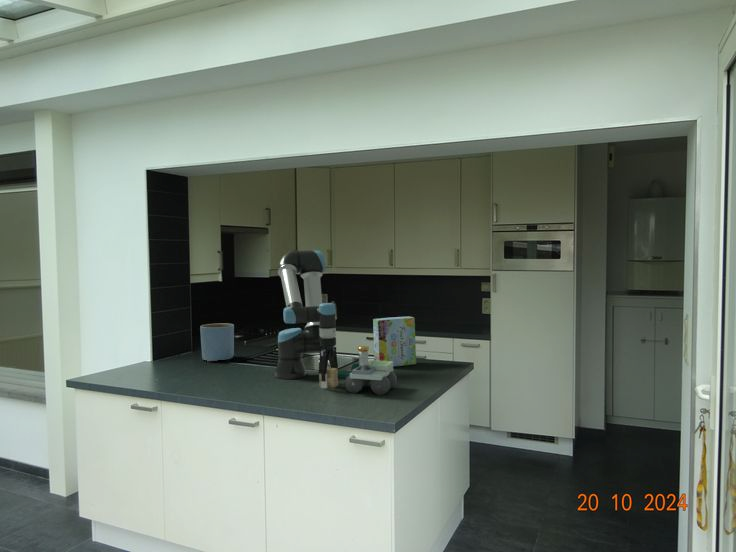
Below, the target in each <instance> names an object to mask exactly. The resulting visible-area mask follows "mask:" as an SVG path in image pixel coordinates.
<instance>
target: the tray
mask: <svg viewBox="0 0 736 552" xmlns="http://www.w3.org/2000/svg"><path fill="white" fill-rule="evenodd" d="M368 367H374V368H376V371H385V372H387V371H388V370H390V369H391V368H392V367H393V361H375V360H368ZM393 368H394V367H393Z"/></svg>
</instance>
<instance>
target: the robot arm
mask: <svg viewBox="0 0 736 552" xmlns="http://www.w3.org/2000/svg"><path fill="white" fill-rule="evenodd" d="M325 260H326V259H325V257H324V254H323V252H322V251H321V250H313V249H311V250H309V249H308V250H290V251H287V252H286V253H284V255H282V256H281V258H280V260H279V261H278V263H277V274H278V277H280V279H281V280H280V281H281V286H282V289H283V290H282V291H283V296H284V301H285V306H286V307H284V308H283V311H282V312H283V322H284V323H285V324H305V323H306V325H305V326H304V330H302V328H300V327H296V328H295V327H294V328H293V327H292V328H286V329H284V330H281V331H279V332H278V335H277V345H278V346H277V347H278V348H277V349H278V362H277V366H276V369H275V373H274V375H275V377H276V378H278V379H281V380H283V379H284V380H289V379H290V380H291V379H301V378H304V377H306V376H307V371H306V367H305V364H304V362H303V361H304V360H303V355H309V354H310V355H311V354H319V359H318V362H319V363H318V375H319V374H321V387H320V388H321V389H325V390H326V389H328V387H327V374H326V371H327V368H328V364H329V368H339V367H338V366H339V363H338V355H337V346H336V345H337V338H336V336H337V330H336V329H337V328H336V327H337V326H336V325H337V324H336V323H337V322H336V320H337V319H336V318H337V317H336V314H337V310H336V305H335V303H333V302H332V303H331V302H323V296H322V295H323V294H322V284H321V278H322V276H323V275H324V274H323V273H324V272H325V271H326V261H325ZM297 274H300V277H301V278H302V279H303V287H304V289H303V290H304V300H305V306H303V302H302V297H301V293H300V289H299V283H298V279H297Z"/></svg>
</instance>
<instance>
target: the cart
mask: <svg viewBox="0 0 736 552" xmlns="http://www.w3.org/2000/svg"><path fill="white" fill-rule="evenodd" d="M368 370H369V371H363V370H359V367H357V368H355V369H353V370H352V373H350V375H349V376H348V377H347V378H345V380H344V385H345V389H346V390H347V391H348V392H349V393H351V394H356V393H359V391H362V390H363V388H365V387H367V386H368V385H370V389H371V391H372V392H373V393H374V394H376V395H378V396H382V395H385V394H387V392H388V391H390V390H391V389H392V388H394V387H395V386H396V385H397V383H398V378H397V374H396V373H395V371H394V367H392V368H391V369H390V370H388V371H387V372H385V371H376V368H374V367H368Z"/></svg>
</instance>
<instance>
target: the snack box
mask: <svg viewBox="0 0 736 552" xmlns="http://www.w3.org/2000/svg"><path fill="white" fill-rule="evenodd" d="M415 322H416V321H415V317H413V316H409V315H408V316H397V317H394V316H393V317H381V318H373V319H372V325H373V327H372V329H373V330H372V331H373V353H374V360H375V361H393V368H394V367H401V366H412V365H417V351H416V349H417V347H416V346H417V345H416V323H415Z"/></svg>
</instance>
